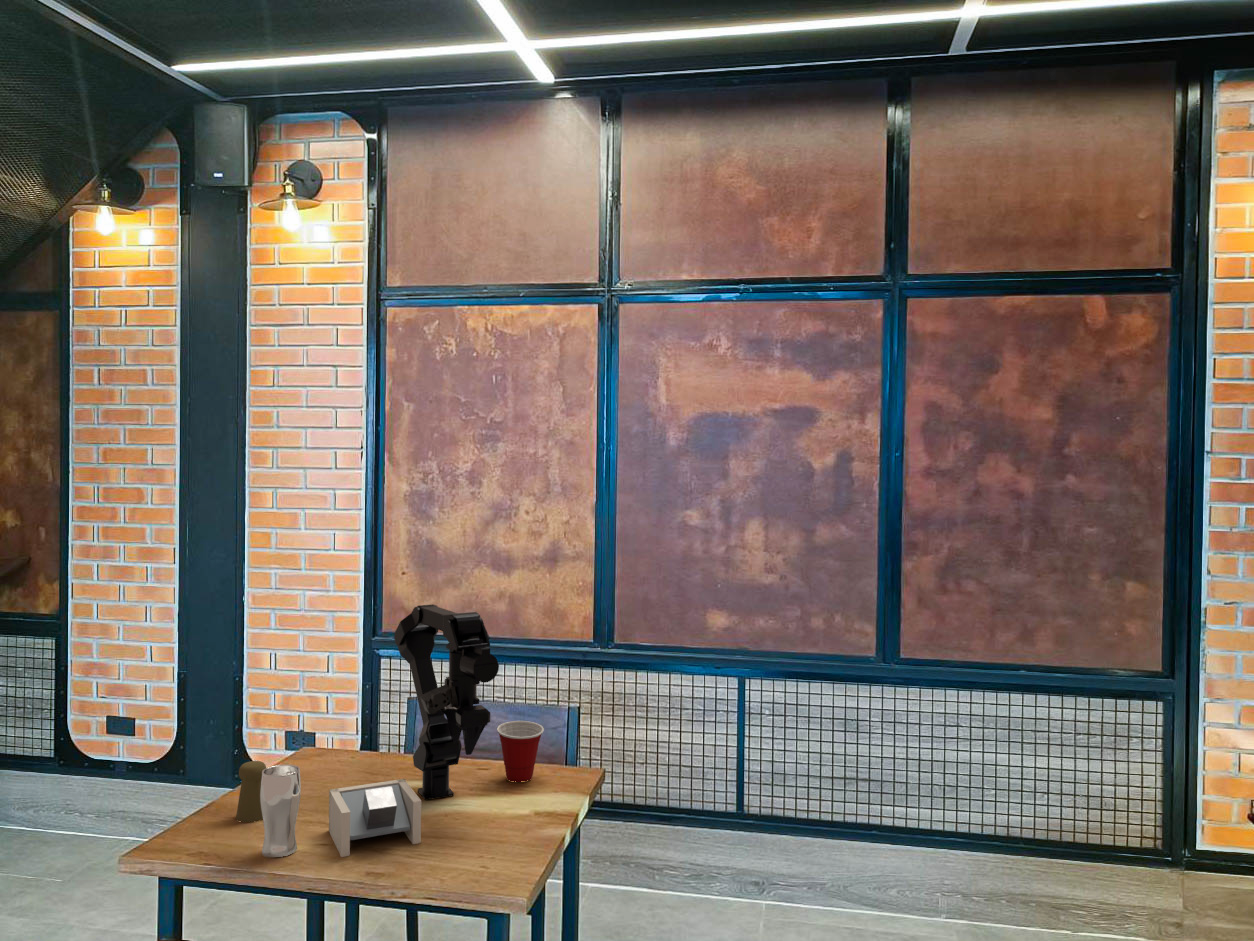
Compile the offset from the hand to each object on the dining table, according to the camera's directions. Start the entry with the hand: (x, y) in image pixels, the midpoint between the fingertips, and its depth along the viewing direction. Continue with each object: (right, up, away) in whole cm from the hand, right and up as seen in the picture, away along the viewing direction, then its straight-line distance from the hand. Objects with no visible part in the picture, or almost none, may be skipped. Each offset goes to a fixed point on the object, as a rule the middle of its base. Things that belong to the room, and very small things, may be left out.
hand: (461, 748), depth 186 cm
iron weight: (-13, -8, -16) cm, 22 cm away
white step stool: (-14, -13, -14) cm, 24 cm away
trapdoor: (-14, -8, -14) cm, 22 cm away
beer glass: (-30, -13, -21) cm, 39 cm away
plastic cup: (+10, -14, +20) cm, 26 cm away
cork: (-42, -13, -5) cm, 44 cm away
